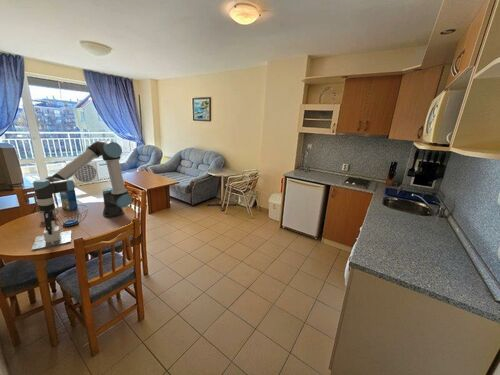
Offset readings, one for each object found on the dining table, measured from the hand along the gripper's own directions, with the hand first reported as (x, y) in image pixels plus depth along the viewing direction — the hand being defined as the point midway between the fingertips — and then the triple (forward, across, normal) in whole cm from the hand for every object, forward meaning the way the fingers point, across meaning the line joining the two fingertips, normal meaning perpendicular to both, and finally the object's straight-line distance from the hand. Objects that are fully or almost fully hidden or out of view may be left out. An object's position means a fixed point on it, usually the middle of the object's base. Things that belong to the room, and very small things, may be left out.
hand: (52, 234), depth 137 cm
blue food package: (+5, -61, +7) cm, 61 cm away
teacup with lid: (+5, -40, -4) cm, 40 cm away
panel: (+5, 0, 0) cm, 5 cm away
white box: (+4, 0, 0) cm, 4 cm away
